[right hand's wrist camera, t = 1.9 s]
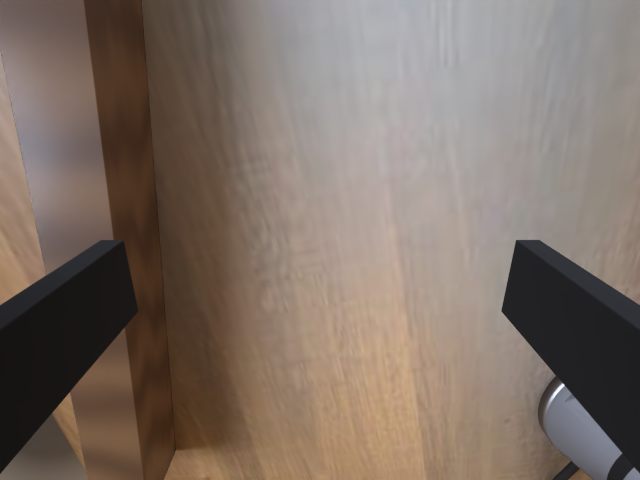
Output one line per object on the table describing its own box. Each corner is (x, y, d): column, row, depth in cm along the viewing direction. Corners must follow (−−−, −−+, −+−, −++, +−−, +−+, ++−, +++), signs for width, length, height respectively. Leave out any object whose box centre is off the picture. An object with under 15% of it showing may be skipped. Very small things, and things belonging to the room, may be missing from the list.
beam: (175, 450, 46) (148, 516, 38) (130, 447, 45) (94, 513, 38) (123, -238, 24) (36, -386, 16) (34, -248, 23) (-94, -403, 16)
